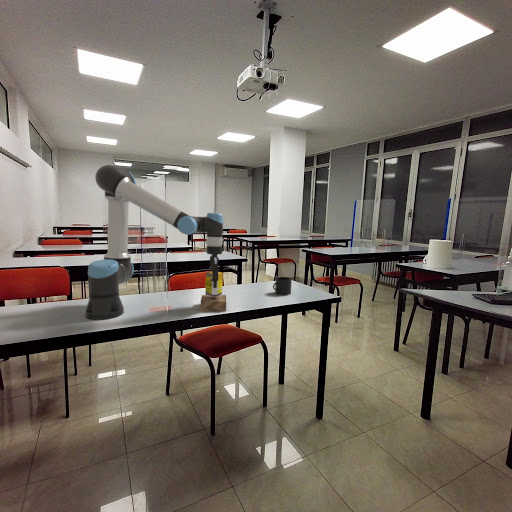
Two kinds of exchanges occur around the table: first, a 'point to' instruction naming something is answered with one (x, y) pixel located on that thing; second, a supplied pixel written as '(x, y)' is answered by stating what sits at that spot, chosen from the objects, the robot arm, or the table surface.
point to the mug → (282, 285)
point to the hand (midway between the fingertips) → (213, 291)
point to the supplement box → (209, 283)
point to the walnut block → (213, 303)
